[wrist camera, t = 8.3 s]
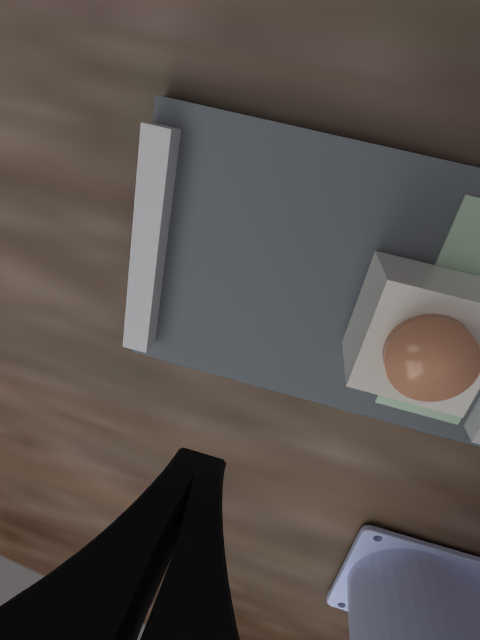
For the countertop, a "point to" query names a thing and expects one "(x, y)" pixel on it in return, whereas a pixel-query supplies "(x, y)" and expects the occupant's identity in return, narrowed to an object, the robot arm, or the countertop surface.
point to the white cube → (415, 335)
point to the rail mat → (283, 250)
